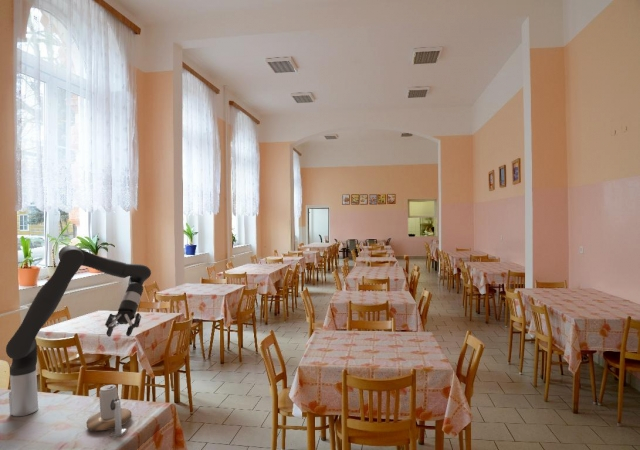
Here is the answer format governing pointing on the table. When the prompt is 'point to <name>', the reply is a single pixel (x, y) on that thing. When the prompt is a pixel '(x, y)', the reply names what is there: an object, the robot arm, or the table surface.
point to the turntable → (107, 421)
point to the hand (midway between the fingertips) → (118, 335)
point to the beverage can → (107, 401)
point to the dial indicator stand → (117, 418)
